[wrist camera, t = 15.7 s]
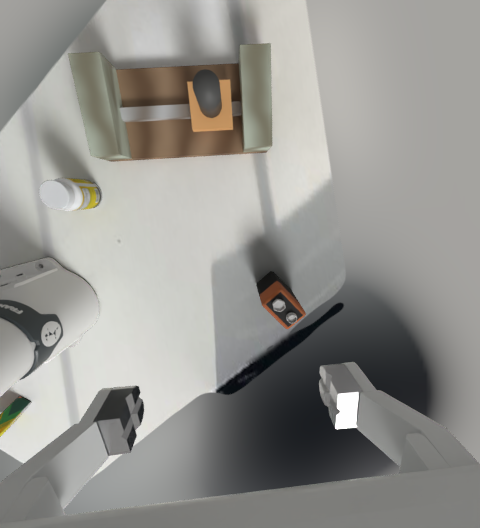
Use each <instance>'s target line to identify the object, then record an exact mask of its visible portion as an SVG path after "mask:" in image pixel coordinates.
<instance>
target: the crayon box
mask: <svg viewBox="0 0 480 528" xmlns="http://www.w3.org/2000/svg"><path fill="white" fill-rule="evenodd" d="M30 404H31V401H29V400H27V399H25V398H23V397H21V396H19V397H18V398H17V399H16V400H15V401H14V402H13V403H12V404H11V405H10V406H9V407H8V408H6V409H5V410H4V411H3V412H2V413H1V414H0V437H1V435H2V434H3V433H4V432H5V431H6V430H7V429H8V428H9V427H10V426H11V425H12V424H13V423H14V422H15V421H16V420H17V419H18V418H19V417H20V415H21V414H22V413H23V412H24V411H25V410H26V408H27V407H28V406H29V405H30Z"/></svg>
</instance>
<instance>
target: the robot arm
mask: <svg viewBox="0 0 480 528" xmlns="http://www.w3.org/2000/svg"><path fill="white" fill-rule="evenodd" d="M41 264H42V265H43V267H42V265H41ZM98 316H99V302H98V298H97V296H96V294H95V292H94V290H93V289H92V288H91V286H90V285H89V284H88V283H87V282H86V281H85V280H83V279H82V278H81V277H79V276H78V275H76V274H74V273H72V272H70V271H67V270H66V269H64V268H63V267H62V266H61V265H60V264H59V263H58V262H57V261H55V260H54V259H53V258H50V257H46V258H42V259H39V260H35V261H31V262H27V263H24V264H20V265H16V266H13V267H9V268H5V269H1V270H0V397H1V396H2V395H3V394H4V393H5V392H6V391H7V390H8V389H10V388H11V387H12V386H13V385H14V384H15V383H16V382H17V381H18V380H21V379H23V378H25V377H27V376H28V375H29V374H31V373H32V372H34V371H35V370H37V369H38V368H39V367H40V366H41V365H42V363H43V364H45V363H47V362H49V361H50V360H52V359H53V358H54V357H56V356H57V355H58V354H60V353H61V352H62V351H63V350H65V349H66V348H67V347H74V346H76V345H77V344H78V343H79V342H80V341H81V339H82V336H83V334H84V333H85V332H86V331H88V330H89V329H90V328H92V327H93V325H94V324H95V323H96V321H97V319H98ZM320 375H321V377H322V378H321V379H320V381H319V388H320V394H321V397H322V400H323V402H324V404H325V405H326V406H328V407H329V415H330V417H331V419H332V421H333V423H334V426H335V428H336V429H338V428H351V427H357V429H358V430H359V431H360V432H361V433H363V434H364V435H365V436H366V437H367V438H368V439H369V440H371V441H372V442H373V443H374V444H375V445H376V446H377V447H378V448H379V449H381V450H382V451H383V452H384V453H385V454H386V455H387V456H389V457H390V458H391V459H392V460H393V461H394V462H395V463H396V464H398V465H399V466H400V470H399V474H393V475H385V476H377V477H369V478H361V479H353V480H345V481H338V482H337V481H336V482H329V483H320V484H313V485H305V486H297V487H288V488H281V489H272V490H266V491H257V492H249V493H241V494H232V495H225V496H216V497H208V498H200V499H191V500H183V501H175V502H167V503H159V504H151V505H143V506H135V507H127V508H119V509H111V510H102V511H94V512H86V513H78V514H70V515H66V514H65V512H64V508H65V507H66V506H67V505H68V504H69V503H70V502H71V500H72V499H73V498H74V497H75V496H76V495H77V493H78V492H79V491H80V490H81V489H82V488H83V486H84V485H85V484H86V483H87V482H88V481H89V480H90V478H91V477H92V476H93V475H94V474H95V473H96V471H97V470H98V469H99V468H100V467H101V466H102V464H103V463H104V462H105V461H106V460H107V459H108V457H109V456H110V455H117V454H124V453H130V452H131V450H132V447H133V444H134V442H135V439H136V436H137V435H136V431H135V430H136V429H137V428H138V427H139V426H140V425H141V422H142V419H143V414H144V404H143V400H142V399H140V398H139V395H140V389H139V386H125V387H114V388H104V389H101V390H100V391H99V392H98V394H97V395H96V397H95V398H94V400H93V402H92V403H91V405H90V406H89V408H88V409H87V411H86V413H85V414H84V416H83V417H82V419H81V421H80V422H79V424H74V425H73V426H72V427H70V428H69V429H68V430H67V431H65V432H64V433H63V434H61V435H60V436H59V437H58V438H56V439H55V440H54V441H52V442H51V443H50V444H49V445H47V446H46V447H45V448H43V449H42V450H41V451H40V452H38V453H37V454H36V455H34V456H33V457H32V458H31V459H29V460H28V461H27V462H25V463H24V464H23V465H22V466H20V467H19V468H18V469H16V470H15V471H14V472H13V473H11V474H10V475H9V476H7V477H6V478H5V479H4V480H2V482H1V483H0V528H480V464H479V463H478V462H477V460H476V459H475V458H473V456H472V455H471V454H470V453H469V452H468V451H467V450H466V449H465V447H464V446H463V445H462V444H461V443H460V442H459V441H458V440H457V439H456V438H455V437H454V436H453V435H452V434H451V432H450V431H449V430H448V429H447V428H445V427H443V426H442V425H440V424H438V423H436V422H435V421H433V420H431V419H429V418H428V417H426V416H424V415H422V414H420V413H419V412H417V411H415V410H414V409H412V408H410V407H408V406H407V405H405V404H403V403H401V402H400V401H398V400H396V399H394V398H392V397H391V396H389V395H387V394H386V393H384V392H382V391H380V390H379V391H378V390H376V389H375V388H374V387H373V385H372V384H371V383H370V381H369V380H368V379H367V377H366V376H365V375H364V373H363V372H362V371H361V369H360V368H359V367H358V366H357V364H356V363H354V362H349V363H342V364H333V365H324V366H321V367H320Z"/></svg>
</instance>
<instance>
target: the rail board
mask: <svg viewBox="0 0 480 528" xmlns="http://www.w3.org/2000/svg"><path fill="white" fill-rule="evenodd" d="M68 56H69V61H70V65H71V70H72V74H73V79H74V83H75V87H76V92H77V96H78V101H79V105H80V110H81V114H82V119H83V123H84V127H85V132H86V136H87V141H88V145H89V150H90V154H91V156H93V157H97V158H100V159H104V160H108V161H128V160H145V159H162V158H179V157H196V156H213V155H230V154H247V153H264V152H267V151H268V150H269V149H270V148H271V146H272V96H271V43H267V44H247V45H240V50H239V63H237V64H218V65H198V66H179V67H160V68H140V69H121V70H116V69H115V68H114V67H113V66H112V65H111V64H110V63H109V62H108V61H107V59H106V58H105V57H104V56H103V55H102V54H101V53H100V52H88V53H68ZM204 69H207V70H211V71H212V72H214V73H215V74H216V75H217V77H218V79H219V80H229V79H230V86H231V103H232V120H233V130H219V131H201V132H193V130H192V122H191V112H190V103H189V93H188V84H187V82H192V81H193V79H194V76H195V75H196V73H197V72H199V71H200V70H204Z"/></svg>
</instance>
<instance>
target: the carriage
mask: <svg viewBox="0 0 480 528" xmlns="http://www.w3.org/2000/svg"><path fill="white" fill-rule="evenodd" d="M187 84H188V93H189V103H190V112H191V122H192V130H193V132H201V131H219V130H233V120H232V103H231V86H230V79H229V80H219V79H218V77H217V75H216V74H215V73H214V72H212V71H211V70H207V69H204V70H200V71H199V72H197V73H196V75H195V76H194V79H193V81H192V82H187Z"/></svg>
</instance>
